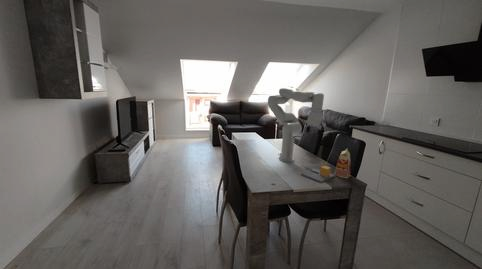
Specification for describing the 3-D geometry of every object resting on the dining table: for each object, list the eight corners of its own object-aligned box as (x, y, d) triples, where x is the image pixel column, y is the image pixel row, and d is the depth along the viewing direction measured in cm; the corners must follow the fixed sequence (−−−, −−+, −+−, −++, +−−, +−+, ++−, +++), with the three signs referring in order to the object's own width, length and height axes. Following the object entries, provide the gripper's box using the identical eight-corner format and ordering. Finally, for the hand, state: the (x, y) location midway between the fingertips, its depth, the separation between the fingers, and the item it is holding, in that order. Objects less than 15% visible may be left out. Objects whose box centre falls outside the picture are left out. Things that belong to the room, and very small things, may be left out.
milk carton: (337, 171, 172) (341, 146, 168) (350, 175, 166) (354, 149, 162) (333, 175, 165) (337, 149, 161) (347, 179, 160) (351, 151, 155)
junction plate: (300, 174, 163) (301, 166, 162) (315, 169, 175) (315, 161, 173) (320, 182, 152) (322, 174, 150) (334, 176, 163) (335, 168, 161)
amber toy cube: (319, 174, 162) (320, 167, 160) (323, 173, 165) (324, 165, 163) (326, 177, 158) (327, 169, 157) (329, 175, 161) (330, 167, 160)
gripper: (303, 109, 169) (300, 131, 173) (324, 112, 156) (321, 136, 160) (309, 108, 173) (306, 130, 177) (330, 111, 160) (327, 135, 164)
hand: (313, 133), depth 169 cm, fingers open, 9 cm apart
